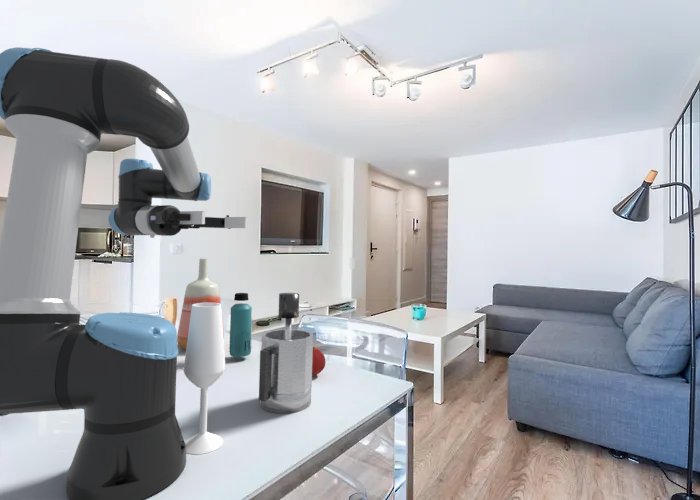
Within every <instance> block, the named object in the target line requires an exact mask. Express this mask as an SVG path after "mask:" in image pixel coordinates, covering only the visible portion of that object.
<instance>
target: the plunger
mask: <svg viewBox="0 0 700 500" xmlns="http://www.w3.org/2000/svg"><path fill="white" fill-rule="evenodd" d="M299 310H300V293H296V292H280V293H278V315H277V316H278V318H281V319H284V329H285V340H291V329H292V323H293V322H292V321H293V319H297V318H299V317H300V316H299V315H300V313H299V312H300V311H299Z"/></svg>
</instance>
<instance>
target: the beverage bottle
mask: <svg viewBox="0 0 700 500" xmlns="http://www.w3.org/2000/svg"><path fill="white" fill-rule="evenodd" d="M233 300H234V301H237V302H245V301H249V293H247V292H236V293H235V294H234V298H233ZM252 311H253V307H252V306H251V305H250V304H249V303H235V304H233V305H232V306H231V307H230V322H229V324H230V327H229V342H228V343H229V344H228V345H229V346H228V350H229V351H228V352H229V355H230V356H231V357H234V358H235V357H237V358H241V357H248V356H250V355H251V353H252V326H253V325H252V324H253V322H252V321H253V320H252Z"/></svg>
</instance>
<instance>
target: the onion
mask: <svg viewBox="0 0 700 500" xmlns="http://www.w3.org/2000/svg"><path fill="white" fill-rule="evenodd" d="M325 367H326V357H325V355H324V353H323V352H322V351H321V350H320V349H319V348H318V347H317V346H316V345H315V346H314V345H313V358H312V377H316V376H318V375H319V374H320V373H322V371H323V370H324V369H325Z"/></svg>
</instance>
